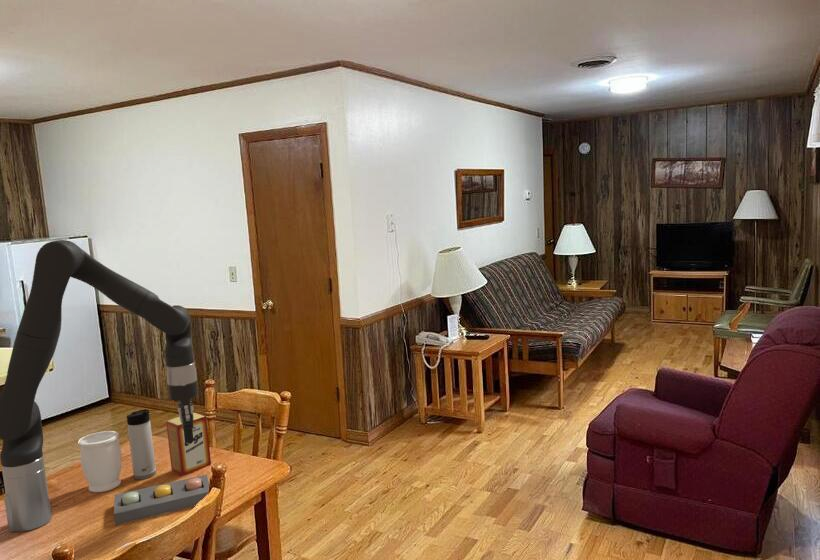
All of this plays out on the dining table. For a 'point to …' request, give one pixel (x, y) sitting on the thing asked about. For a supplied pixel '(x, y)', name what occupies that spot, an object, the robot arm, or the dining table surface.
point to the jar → (101, 460)
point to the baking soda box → (188, 446)
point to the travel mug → (141, 444)
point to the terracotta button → (193, 484)
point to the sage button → (130, 498)
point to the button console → (159, 501)
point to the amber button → (162, 491)
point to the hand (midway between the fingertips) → (189, 441)
